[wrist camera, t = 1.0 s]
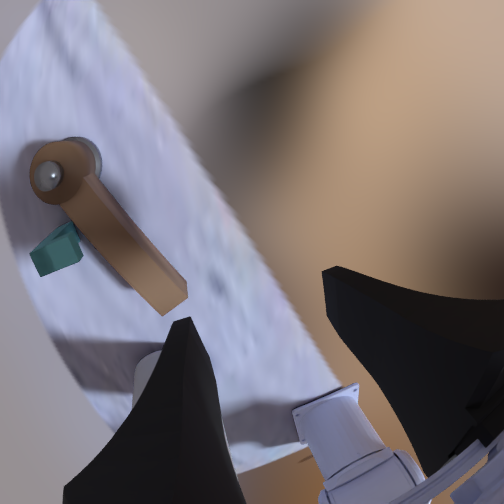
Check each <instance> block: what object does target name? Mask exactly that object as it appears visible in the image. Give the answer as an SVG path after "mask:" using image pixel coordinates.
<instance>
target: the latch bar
mask: <svg viewBox="0 0 504 504" xmlns="http://www.w3.org/2000/svg"><path fill="white" fill-rule="evenodd" d="M51 160H55V161H58V162H59V163H60V164H61V165H62V167H63V170H64V178H63V181H62V183H61V184H60V185H59V186H58V187H56V188H54V189H52V190H50V191H46V192H45V191H41V190H40V189H38V188H37V186H36V184H35V181H34V173H35V170H36V168H37V167H38V165H40V164H41V163H43V162H47V161H51ZM95 171H96V161H95V157H94V154H93V152H92V150H91V149H90V148H89V147H88V146H87V145H86V144H85V143H83V142H81V141H76V140H72V141H59V142H52V143H49V144H46V145H45V146H43V147H42V148H41V149H40V150H39V151H38V152H37V153H36V155H35V156H34V158H33V160H32V163H31V167H30V182H31V186H32V189H33V191H34V192H35V194H36V195H37V197H38V198H39V199H41V200H42V201H43V202H45V203H48V204H52V205H58V204H59V205H60V206H61V207H62V209H63V210H64V211H65V213H66V214H67V215H68V216H69V217H70V219H71V220H72V221H73V222H74V224H75V225H76V226H77V227H78V228H79V230H80V231H81V232H82V233H83V234H84V235H85V237H86V238H87V239H88V240H89V241H90V242H91V243H92V245H93V246H94V247H95V248H96V249H97V250H98V251H99V252H100V254H101V255H102V256H103V257H104V258H105V259H106V260H107V261H108V262H109V263H110V265H111V266H112V267H113V268H114V269H115V270H116V271H117V272H118V273H119V274H120V275H121V276H122V277H123V278H124V279H125V280H126V281H127V282H128V283H129V284H130V285H131V286H132V287H133V288H134V289H135V290H136V291H137V292H138V293H139V294H140V295H141V296H142V297H143V298H144V299H145V300H146V301H147V302H148V303H149V304H150V305H151V306H152V307H153V308H154V309H155V310H156V311H157V312H158V313H159V314H160V315H161V316H164V315H165V314H166V313H168V312H169V311H171V310H172V309H173V308H175V307H176V306H177V305H179V304H180V303H182V302H183V301H184V300H186V299H187V298H188V292H187V282H186V280H185V279H184V278H183V277H182V276H181V275H180V274H179V273H178V272H177V271H176V269H175V268H174V267H173V266H172V265H171V264H170V263H169V262H168V261H167V259H166V258H165V257H164V256H163V255H162V254H161V253H160V252H159V250H158V249H157V248H156V247H155V246H154V245H153V244H152V243H151V241H150V240H149V239H148V238H147V237H146V236H145V234H144V233H143V232H142V231H141V230H140V229H139V227H138V226H137V225H136V224H135V223H134V222H133V220H132V219H131V218H130V217H129V216H128V214H127V213H126V212H125V211H124V210H123V208H122V207H121V206H120V205H119V203H118V202H117V201H116V200H115V199H114V197H113V196H112V195H111V194H110V192H109V191H108V190H107V189H106V187H105V186H104V185H103V184H102V182H101V181H100V180H99V178H98V177H97V176H96V175H95Z"/></svg>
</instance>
